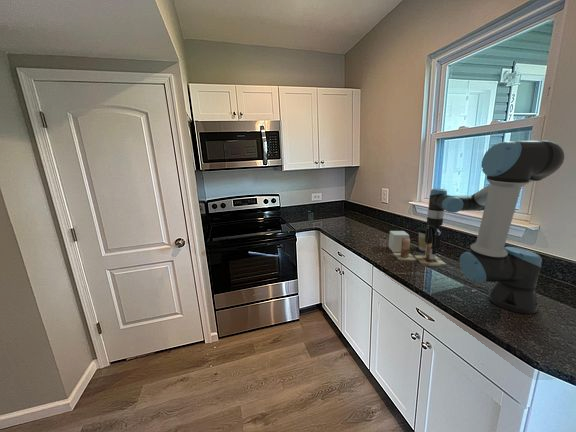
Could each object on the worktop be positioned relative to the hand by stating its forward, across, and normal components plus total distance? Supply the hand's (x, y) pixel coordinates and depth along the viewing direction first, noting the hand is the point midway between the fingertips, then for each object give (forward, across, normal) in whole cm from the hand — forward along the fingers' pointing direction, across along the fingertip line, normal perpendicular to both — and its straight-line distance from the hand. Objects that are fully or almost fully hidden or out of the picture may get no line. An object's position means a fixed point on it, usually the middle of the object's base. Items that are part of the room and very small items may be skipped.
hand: (430, 257), depth 140 cm
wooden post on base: (+4, +6, +12) cm, 14 cm away
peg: (+3, 0, 0) cm, 3 cm away
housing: (+4, +18, +12) cm, 22 cm away
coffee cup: (+4, +19, -6) cm, 20 cm away
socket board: (+4, 0, 0) cm, 4 cm away
